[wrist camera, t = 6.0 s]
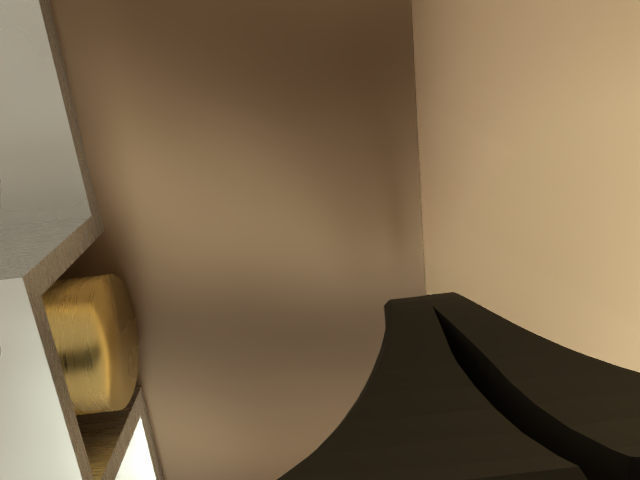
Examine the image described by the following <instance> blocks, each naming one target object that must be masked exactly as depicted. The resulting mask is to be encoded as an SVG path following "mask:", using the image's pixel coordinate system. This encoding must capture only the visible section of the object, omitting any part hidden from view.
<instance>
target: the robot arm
mask: <svg viewBox="0 0 640 480" xmlns="http://www.w3.org/2000/svg"><path fill="white" fill-rule="evenodd" d="M384 315H385V327H386V328H385V333H384V337H383V341H382V345H381V349H380V352H379V354H378V357H377V359H376V362H375V365H374V367H373V370H372V372H371V374H370V376H369V379H368V381H367V383H366V385H365V386H364V388H363V390H362V392H361V393H360V395H359V397H358V399H357V400H356V402H355V403H354V405H353V406H352V408H351V409H350V410H349V412H348V413H347V415H346V416H345V418H344V419H343V420H342V422H341V423H340V424H339V425H338V427H337V428H336V429H335V430H334V431H333V432H332V433H331V434H330V435H329V437H328V438H327V439H326V440H325V441H324V442H323V443H322V444H321V445H320V446H319V447H318V448H317V449H316V450H315V451H314V452H313V453H311V454H310V455H309V456H308V457H307V458H305V459H304V460H303V461H301V462H300V463H299V464H297V465H296V466H295V467H293V468H292V469H291V470H289V471H288V472H287V473H285V474H284V475H283V476H281V477H280V478H278V479H277V480H640V373H639V372H636V371H632V370H629V369H625V368H622V367H619V366H616V365H613V364H610V363H607V362H604V361H601V360H598V359H595V358H592V357H589V356H586V355H584V354H581V353H578V352H576V351H573V350H571V349H568V348H566V347H563V346H561V345H559V344H556V343H554V342H552V341H550V340H547V339H545V338H543V337H541V336H538V335H536V334H534V333H532V332H530V331H528V330H526V329H524V328H522V327H520V326H518V325H516V324H514V323H512V322H510V321H508V320H506V319H504V318H502V317H500V316H498V315H497V314H495V313H493V312H491V311H489V310H487V309H486V308H484V307H482V306H480V305H478V304H476V303H474V302H473V301H471V300H469V299H467V298H465V297H463V296H461V295H459V294H456V293H454V292H451V293H443V294H434V295H425V296H417V297H408V298H400V299H391V300H389V301H388V302H387V303H386V304H385V305H384Z"/></svg>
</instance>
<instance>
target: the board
mask: <svg viewBox="0 0 640 480" xmlns="http://www.w3.org/2000/svg"><path fill="white" fill-rule="evenodd" d="M49 3H50V7H51V11H52V15H53V19H54V23H55V28H56V32H57V36H58V40H59V44H60V48H61V53H62V57H63V61H64V65H65V69H66V73H67V78H68V82H69V86H70V90H71V94H72V99H73V103H74V107H75V111H76V115H77V119H78V124H79V128H80V132H81V136H82V140H83V144H84V149H85V153H86V157H87V161H88V165H89V169H90V174H91V178H92V182H93V186H94V190H95V195H96V199H97V203H98V207H99V211H100V215H101V220H102V224H103V228H104V232H103V233H102V234H101V235H100V236H99V237H98V238H97V239H96V240H95V241H94V242H93V243H92V244H91V245H90V246H89V247H88V248H87V249H86V250H85V251H84V252H83V253H82V254H81V255H80V256H79V257H78V258H77V259H76V260H75V261H74V262H73V264H72V265H71V266H70V267H69V268H68V269H67V270H66V271H65V272H64V273H63V274H62V275H61V276H60V277H59V278H58V279H57V280H64V279H73V278H82V277H91V276H100V275H109V274H113V275H116V276H117V277H119V278H120V279H121V281H122V282H123V283H124V285H125V286H126V288H127V290H128V292H129V295H130V297H131V301H132V304H133V307H134V311H135V316H136V321H137V328H138V339H139V365H138V374H137V380H136V385H135V387H140V386H142V391H143V395H144V399H145V403H146V407H147V412H148V416H149V420H150V424H151V428H152V432H153V437H154V441H155V445H156V449H157V453H158V457H159V462H160V466H161V470H162V474H163V478H164V480H277V479H278V478H280V477H281V476H283V475H284V474H285V473H287V472H288V471H289V470H291V469H292V468H293V467H295V466H296V465H297V464H299V463H300V462H301V461H303V460H304V459H305V458H307V457H308V456H309V455H310V454H311V453H313V452H314V451H315V450H316V449H317V448H318V447H319V446H320V445H321V444H322V443H323V442H324V441H325V440H326V439H327V438H328V437H329V435H330V434H331V433H332V432H333V431H334V430H335V429H336V428H337V427H338V425H339V424H340V423H341V422H342V420H343V419H344V418H345V416H346V415H347V413H348V412H349V410H350V409H351V408H352V406H353V405H354V403H355V402H356V400H357V399H358V397H359V395H360V393H361V392H362V390H363V388H364V386H365V385H366V383H367V381H368V379H369V376H370V374H371V372H372V370H373V367H374V365H375V362H376V359H377V357H378V354H379V352H380V349H381V345H382V341H383V337H384V333H385V328H386V327H385V315H384V305H385V304H386V303H387V302H388V301H389V300H391V299H400V298H408V297H417V296H425V295H426V294H425V274H424V253H423V233H422V212H421V191H420V171H419V150H418V130H417V109H416V89H415V68H414V47H413V27H412V6H411V0H49Z"/></svg>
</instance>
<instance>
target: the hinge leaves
mask: <svg viewBox="0 0 640 480" xmlns="http://www.w3.org/2000/svg"><path fill="white" fill-rule="evenodd" d="M103 232H104V228H103V224H102V220H101V215H100V211H99V207H98V203H97V199H96V195H95V190H94V186H93V182H92V178H91V174H90V169H89V165H88V161H87V157H86V153H85V149H84V144H83V140H82V136H81V132H80V128H79V124H78V119H77V115H76V111H75V107H74V103H73V99H72V94H71V90H70V86H69V82H68V78H67V73H66V69H65V65H64V61H63V57H62V53H61V48H60V44H59V40H58V36H57V32H56V28H55V23H54V19H53V15H52V11H51V7H50V3H49V0H0V480H164V478H163V474H162V470H161V466H160V462H159V457H158V453H157V449H156V445H155V441H154V437H153V432H152V428H151V424H150V420H149V416H148V412H147V407H146V403H145V399H144V395H143V391H142V386H140V387H135V389H134V392H133V395H132V397H131V400H130V401H129V403H128V404H127V406H126V407H125V408H124V409H122V410H117V411H108V412H100V413H91V414H82V415H75V411H74V408H73V404H72V401H71V398H70V394H69V391H68V387H67V384H66V380H65V377H64V373H63V370H62V366H61V363H60V359H59V356H58V353H57V349H56V346H55V342H54V339H53V335H52V332H51V328H50V325H49V321H48V318H47V314H46V311H45V307H44V304H43V301H42V297H41V295H42V294H43V293H44V292H45V291H46V290H47V289H48V288H49V287H50V286H51V285H52V284H53V283H54V282H55V281H56V280H57V279H58V278H59V277H60V276H61V275H62V274H63V273H64V272H65V271H66V270H67V269H68V268H69V267H70V266H71V265H72V264H73V262H74V261H75V260H76V259H77V258H78V257H79V256H80V255H81V254H82V253H83V252H84V251H85V250H86V249H87V248H88V247H89V246H90V245H91V244H92V243H93V242H94V241H95V240H96V239H97V238H98V237H99V236H100V235H101V234H102V233H103Z"/></svg>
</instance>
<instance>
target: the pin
mask: <svg viewBox="0 0 640 480" xmlns="http://www.w3.org/2000/svg"><path fill="white" fill-rule="evenodd" d="M41 297H42V301H43V304H44V307H45V311H46V314H47V318H48V321H49V325H50V328H51V332H52V335H53V339H54V342H55V346H56V349H57V353H58V356H59V359H60V363H61V366H62V370H63V373H64V377H65V380H66V384H67V387H68V391H69V394H70V398H71V401H72V404H73V408H74V411H75V415H82V414H91V413H100V412H108V411H117V410H122V409H124V408H125V407H126V406H127V404H128V403H129V401H130V400H131V397H132V395H133V392H134V389H135V385H136V380H137V374H138V365H139V339H138V328H137V321H136V316H135V311H134V307H133V304H132V301H131V297H130V295H129V292H128V290H127V288H126V286H125V285H124V283H123V282H122V281H121V279H120V278H119V277H117V276H116V275H113V274H109V275H100V276H91V277H82V278H73V279H64V280H56V281H55V282H54V283H53V284H52V285H51V286H50V287H49V288H48V289H47V290H46V291H45V292H44V293H43V294H42V295H41Z"/></svg>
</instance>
